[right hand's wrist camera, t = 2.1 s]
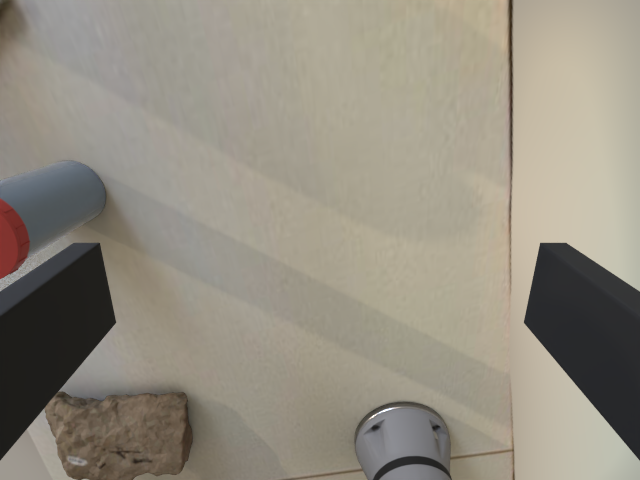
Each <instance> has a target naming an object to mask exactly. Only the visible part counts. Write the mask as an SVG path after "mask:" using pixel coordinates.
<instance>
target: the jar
mask: <svg viewBox="0 0 640 480" xmlns="http://www.w3.org/2000/svg"><path fill="white" fill-rule="evenodd" d="M0 198H1V199H2V200H4V201H5V202H6V203H8V204H9V205H10V206H11V207H12V208H14V210H15V211H16V212H17V213H18V215H19V216H20V217H21V219H22V220H23V222H24V224H25V226H26V229H27V231H28V235H29V241H30V246H29V252H28V255H27V257H28V258H29V257H31V256H33V255H34V254H36V253H37V252H39V251H41V250H42V249H44V248H46V247H47V246H49V245H51V244H52V243H54V242H55V241H57V240H59V239H60V238H62V237H64V236H65V235H67V234H69V233H70V232H72V231H73V230H75V229H77V228H78V227H80V226H82V225H83V224H85V223H87V222H88V221H90V220H92V219H93V218H95V217H96V216H98V215H99V214H100V213H101V211H102V210H103V208H104V205H105V202H106V192H105V188H104V185H103V183H102V181H101V179H100V178H99V177H98V175H97V174H96V173H95V172H94V171H93V170H92V169H90V168H89V167H87V166H86V165H84V164H81V163H79V162H76V161H60V162H56V163H53V164H50V165H47V166H44V167H40V168H37V169H34V170H31V171H28V172H24V173H21V174H18V175H15V176H12V177H8V178H5V179H2V180H0ZM28 258H26V259H28Z"/></svg>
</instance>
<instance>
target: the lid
mask: <svg viewBox="0 0 640 480" xmlns="http://www.w3.org/2000/svg"><path fill="white" fill-rule="evenodd" d="M29 246H30V241H29V235H28V231H27V229H26V226H25V224H24V222H23V220H22V219H21V217H20V216H19V215H18V213H17V212H16V211H15V210H14V208H12V207H11V206H10V205H9V204H8V203H6V202H5V201H4V200H2V199H1V198H0V279H1V278H3V277H5V276H7V275H8V274H11V273H13V272H15V271H16V270H18V269H19V267H20V266H21V265H22V264H23V263H24V261H25V260H26V258H28V257H27V255H28V252H29Z"/></svg>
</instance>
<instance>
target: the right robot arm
mask: <svg viewBox="0 0 640 480" xmlns="http://www.w3.org/2000/svg"><path fill="white" fill-rule="evenodd" d="M115 323H116V320H115V315H114V310H113V305H112V300H111V295H110V291H109V286H108V281H107V276H106V271H105V266H104V261H103V257H102V252H101V247H100V243H73V244H72V245H70V246H69V247H67V248H66V249H64V250H63V251H61V252H60V253H58V254H56V255H55V256H53V257H52V258H50V259H49V260H47V261H46V262H44V263H43V264H41V265H40V266H38V267H37V268H35V269H34V270H32V271H31V272H29V273H28V274H26V275H25V276H23V277H22V278H20V279H19V280H17V281H16V282H14V283H13V284H11V285H10V286H8V287H7V288H5V289H4V290H2V291H1V292H0V460H1V459H2V458H3V456H4V455H5V454H6V453H7V452H8V451H9V449H10V448H11V447H12V446H13V445H14V443H15V442H16V441H17V440H18V439H19V438H20V436H21V435H22V434H23V433H24V432H25V430H26V429H27V428H28V427H29V426H30V424H31V423H32V422H33V421H34V420H35V418H36V417H37V416H38V415H39V414H40V413H41V411H42V410H43V409H44V408H45V407H46V405H47V404H48V403H49V402H50V401H51V399H52V398H53V397H54V396H55V395H56V394H57V392H58V391H59V390H60V389H61V388H62V386H63V385H64V384H65V383H66V382H67V380H68V379H69V378H70V377H71V376H72V374H73V373H74V372H75V371H76V370H77V369H78V367H79V366H80V365H81V364H82V363H83V361H84V360H85V359H86V358H87V357H88V355H89V354H90V353H91V352H92V351H93V350H94V348H95V347H96V346H97V345H98V344H99V342H100V341H101V340H102V339H103V338H104V336H105V335H106V334H107V333H108V332H109V330H110V329H111V328H112V327H113V326H114V325H115ZM524 323H525V324H526V326H527V327H528V328H529V329H530V330H531V332H532V333H533V334H534V335H535V336H536V338H537V339H538V340H539V341H540V342H541V344H542V345H543V346H544V347H545V348H546V349H547V351H548V352H549V353H550V354H551V355H552V357H553V358H554V359H555V360H556V361H557V363H558V364H559V365H560V366H561V367H562V368H563V370H564V371H565V372H566V373H567V374H568V376H569V377H570V378H571V379H572V380H573V382H574V383H575V384H576V385H577V386H578V388H579V389H580V390H581V391H582V392H583V393H584V395H585V396H586V397H587V398H588V399H589V401H590V402H591V403H592V404H593V405H594V407H595V408H596V409H597V410H598V411H599V412H600V414H601V415H602V416H603V417H604V418H605V420H606V421H607V422H608V423H609V424H610V426H611V427H612V428H613V429H614V430H615V432H616V433H617V434H618V435H619V436H620V437H621V439H622V440H623V441H624V442H625V443H626V445H627V446H628V447H629V448H630V449H631V451H632V452H633V453H634V454H635V455H636V456H637V458H638V459H639V460H640V292H639V291H638V290H636V289H635V288H633V287H632V286H630V285H629V284H627V283H626V282H624V281H623V280H621V279H620V278H618V277H617V276H615V275H614V274H612V273H611V272H609V271H608V270H606V269H605V268H603V267H602V266H600V265H599V264H597V263H596V262H594V261H593V260H591V259H589V258H588V257H587V256H585V255H584V254H582V253H580V252H579V251H577V250H576V249H574V248H573V247H571V246H570V245H568V244H567V243H540V247H539V252H538V257H537V261H536V266H535V271H534V276H533V281H532V286H531V291H530V295H529V300H528V305H527V310H526V315H525V320H524ZM450 447H451V444H450V437H449V433H448V430H447V427H446V425H445V422H444V421H443V419H442V418H441V417H440V415H439V414H438V413H436V412H435V411H434V410H432V409H431V408H429V407H427V406H424V405H421V404H418V403H412V402H396V403H390V404H387V405H384V406H381V407H379V408H377V409H375V410H373V411H372V412H370V413H369V414H368V415H366V416H365V417H364V418H363V420H362V421H361V422H360V424H359V425H358V427H357V430H356V433H355V450H356V455H357V458H358V461H359V463H360V465H361V467H362V469H363V471H364V473H365V475H366V477H367V479H368V480H452V479H451V476H450Z"/></svg>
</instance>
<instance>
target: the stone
mask: <svg viewBox="0 0 640 480" xmlns="http://www.w3.org/2000/svg"><path fill="white" fill-rule="evenodd" d="M187 401H188V399H187V396H186V395H185V393H169V394H162V395H152V394H149V393H145V394H139V395H137V396H129V395H123V396H117V395H111V396H107V397H106V398H105V400H104V401H99V400H96V399H92V398H88V399H82V398H77V397H74V398H72V397H70V396H69V395H68V394H66V393H65V392H57V394H56V395H55V396H54V397H53V398H52V399H51V401H50V402H49V403H48V404H47V405H46V407H45V413H46V418H47V420H48V424H49V425H50V427H51V431H52V433H53V435H54V436H55V437H56V444H57V448H58V456H59V458H60V460H61V461H62V465H63V468H64V470H65V471H66V473H67V475H68V476H69V477H71V478H73V479H77V480H81V479H89V480H133V479H134V478H135V477H136V476H138V475H142V474H144V473H151V474H154V475H155V476H159V475H162V474H172V475H177V474H179V473H180V472H181V471H182V469H183V467H184V464H185V462H186V461H188V457H189V452H190V448H191V444H192V431H191V427H190V425H189V423H188V411H187V405H186V404H187Z"/></svg>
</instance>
